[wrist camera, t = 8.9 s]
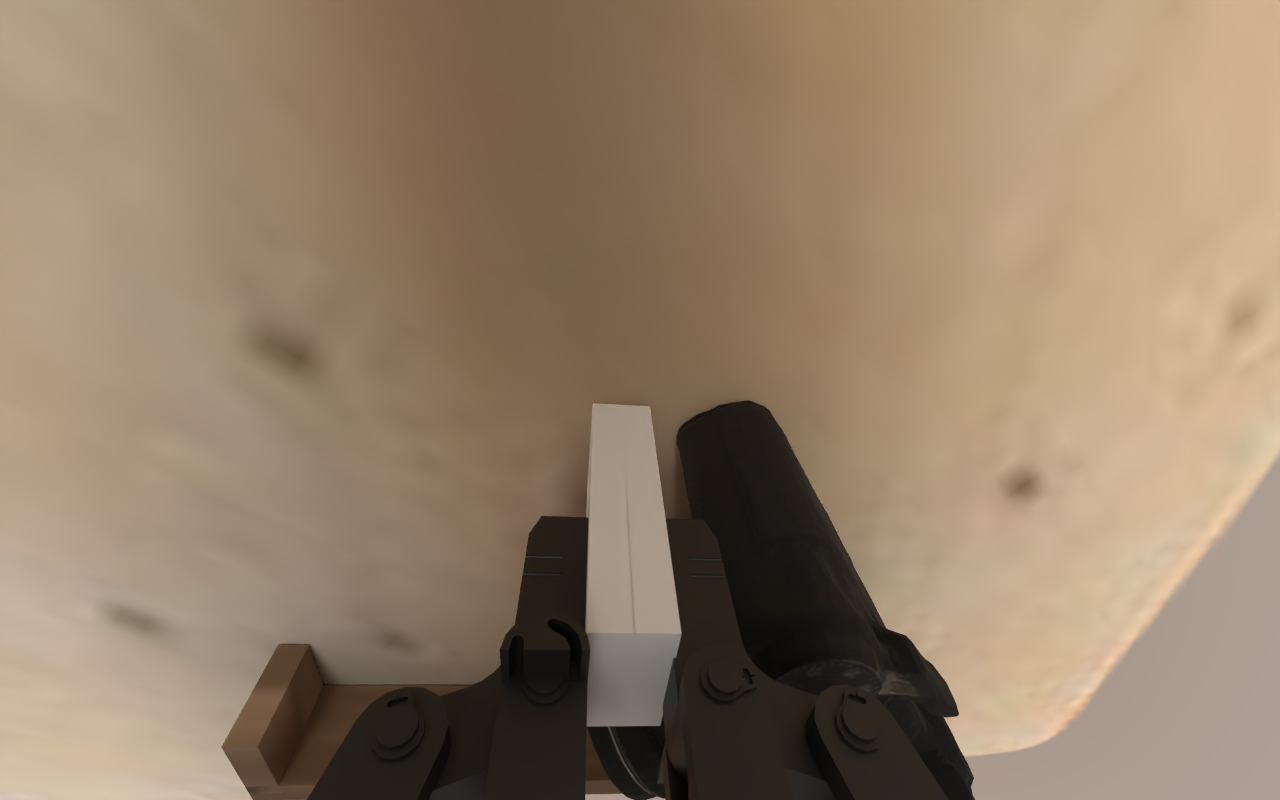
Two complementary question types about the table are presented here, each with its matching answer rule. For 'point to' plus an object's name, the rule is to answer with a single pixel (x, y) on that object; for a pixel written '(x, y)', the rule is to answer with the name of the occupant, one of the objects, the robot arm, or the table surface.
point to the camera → (790, 599)
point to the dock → (316, 728)
